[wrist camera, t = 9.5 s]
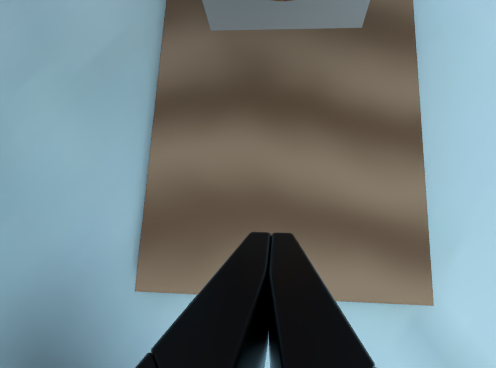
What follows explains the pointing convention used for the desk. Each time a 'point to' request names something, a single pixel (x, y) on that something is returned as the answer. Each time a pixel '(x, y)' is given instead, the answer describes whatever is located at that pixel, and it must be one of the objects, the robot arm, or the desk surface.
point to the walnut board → (289, 153)
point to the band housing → (284, 14)
